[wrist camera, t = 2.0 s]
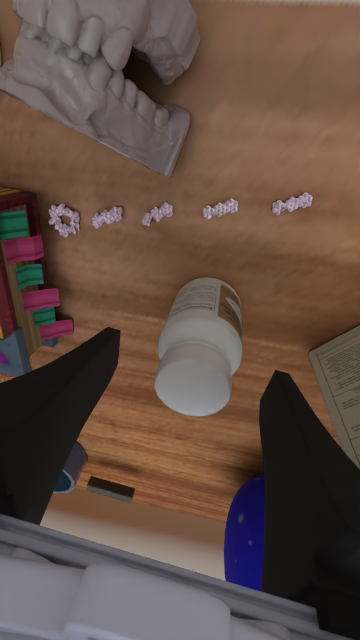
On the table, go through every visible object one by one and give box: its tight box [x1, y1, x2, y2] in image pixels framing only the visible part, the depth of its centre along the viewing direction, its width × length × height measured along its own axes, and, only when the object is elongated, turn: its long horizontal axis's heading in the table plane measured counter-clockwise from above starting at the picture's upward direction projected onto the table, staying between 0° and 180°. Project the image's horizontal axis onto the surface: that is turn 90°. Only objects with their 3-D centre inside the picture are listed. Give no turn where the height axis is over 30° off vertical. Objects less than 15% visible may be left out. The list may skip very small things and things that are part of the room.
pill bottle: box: [154, 277, 242, 416], centre depth 16 cm, size 4×4×8 cm
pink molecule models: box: [48, 193, 313, 237], centre depth 16 cm, size 15×2×1 cm, turn 96°
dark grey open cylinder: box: [53, 442, 87, 493], centre depth 31 cm, size 6×6×3 cm
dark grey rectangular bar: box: [87, 476, 135, 503], centre depth 29 cm, size 5×1×1 cm, turn 80°
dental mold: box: [0, 0, 201, 178], centre depth 11 cm, size 8×7×5 cm
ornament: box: [224, 474, 265, 592], centre depth 21 cm, size 11×9×15 cm
